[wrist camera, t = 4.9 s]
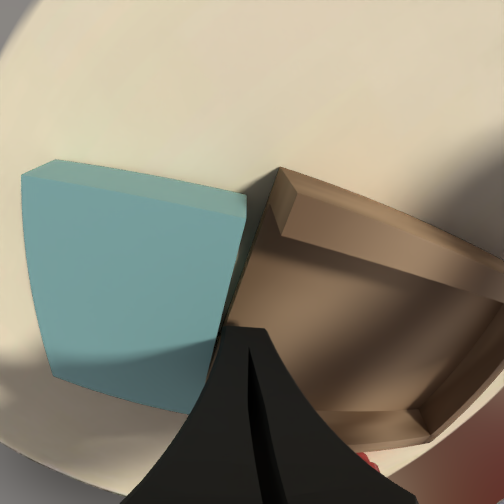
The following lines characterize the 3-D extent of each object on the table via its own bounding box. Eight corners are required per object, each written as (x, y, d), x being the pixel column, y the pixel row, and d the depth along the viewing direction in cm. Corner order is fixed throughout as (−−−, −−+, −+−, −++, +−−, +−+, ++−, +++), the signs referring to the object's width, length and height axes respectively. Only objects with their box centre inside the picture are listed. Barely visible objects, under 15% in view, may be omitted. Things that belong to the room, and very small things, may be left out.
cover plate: (246, 194, 8) (246, 218, 7) (201, 381, 12) (197, 415, 10) (55, 159, 8) (20, 175, 6) (69, 346, 11) (53, 376, 10)
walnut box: (524, 272, 11) (552, 299, 9) (417, 412, 16) (430, 442, 14) (280, 166, 8) (298, 192, 6) (195, 401, 13) (192, 446, 11)
